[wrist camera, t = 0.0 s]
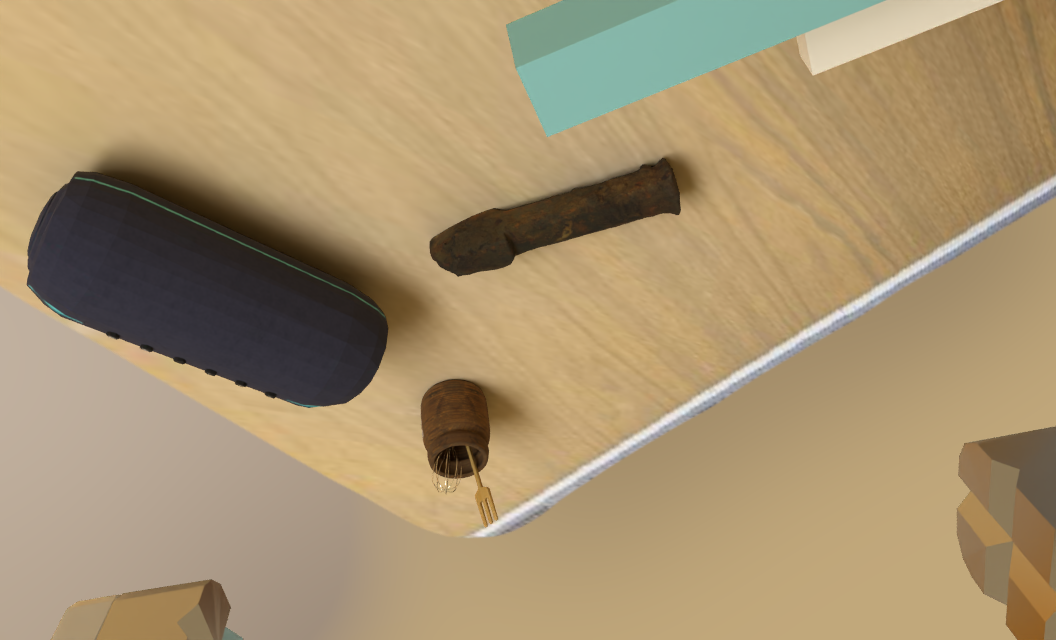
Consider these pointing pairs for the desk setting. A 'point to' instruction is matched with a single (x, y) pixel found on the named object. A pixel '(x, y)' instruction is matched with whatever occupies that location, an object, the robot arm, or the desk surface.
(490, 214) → the hand tool
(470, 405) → the utensil holder
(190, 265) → the portable speaker
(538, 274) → the desk surface
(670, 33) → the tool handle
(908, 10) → the stand
